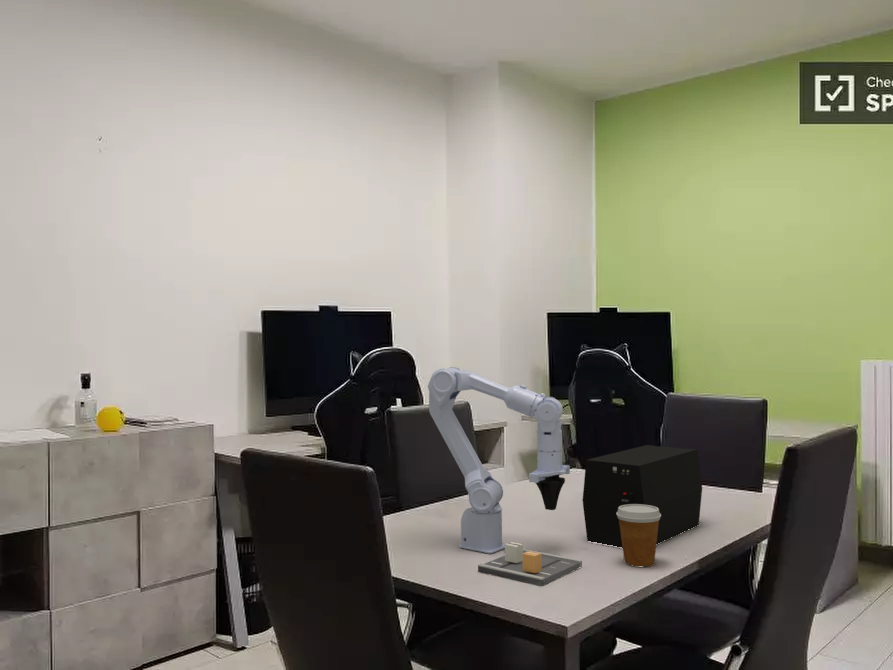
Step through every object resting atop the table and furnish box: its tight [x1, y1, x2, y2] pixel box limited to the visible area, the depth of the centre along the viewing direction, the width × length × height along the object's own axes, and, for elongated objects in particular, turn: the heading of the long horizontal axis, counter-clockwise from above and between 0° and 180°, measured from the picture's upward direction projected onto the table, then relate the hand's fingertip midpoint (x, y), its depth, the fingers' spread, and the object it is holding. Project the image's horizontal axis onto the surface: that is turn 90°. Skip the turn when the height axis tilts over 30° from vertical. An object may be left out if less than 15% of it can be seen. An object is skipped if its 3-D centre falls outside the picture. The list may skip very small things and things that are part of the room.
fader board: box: [477, 548, 583, 587], centre depth 165 cm, size 16×16×2 cm
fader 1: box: [504, 541, 524, 563], centre depth 166 cm, size 3×2×4 cm
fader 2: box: [523, 551, 542, 573], centre depth 159 cm, size 3×2×4 cm
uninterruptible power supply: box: [582, 444, 703, 548], centre depth 193 cm, size 16×34×20 cm, turn 139°
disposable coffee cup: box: [616, 504, 661, 567], centre depth 168 cm, size 10×10×12 cm
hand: (550, 509), depth 178 cm, fingers closed
